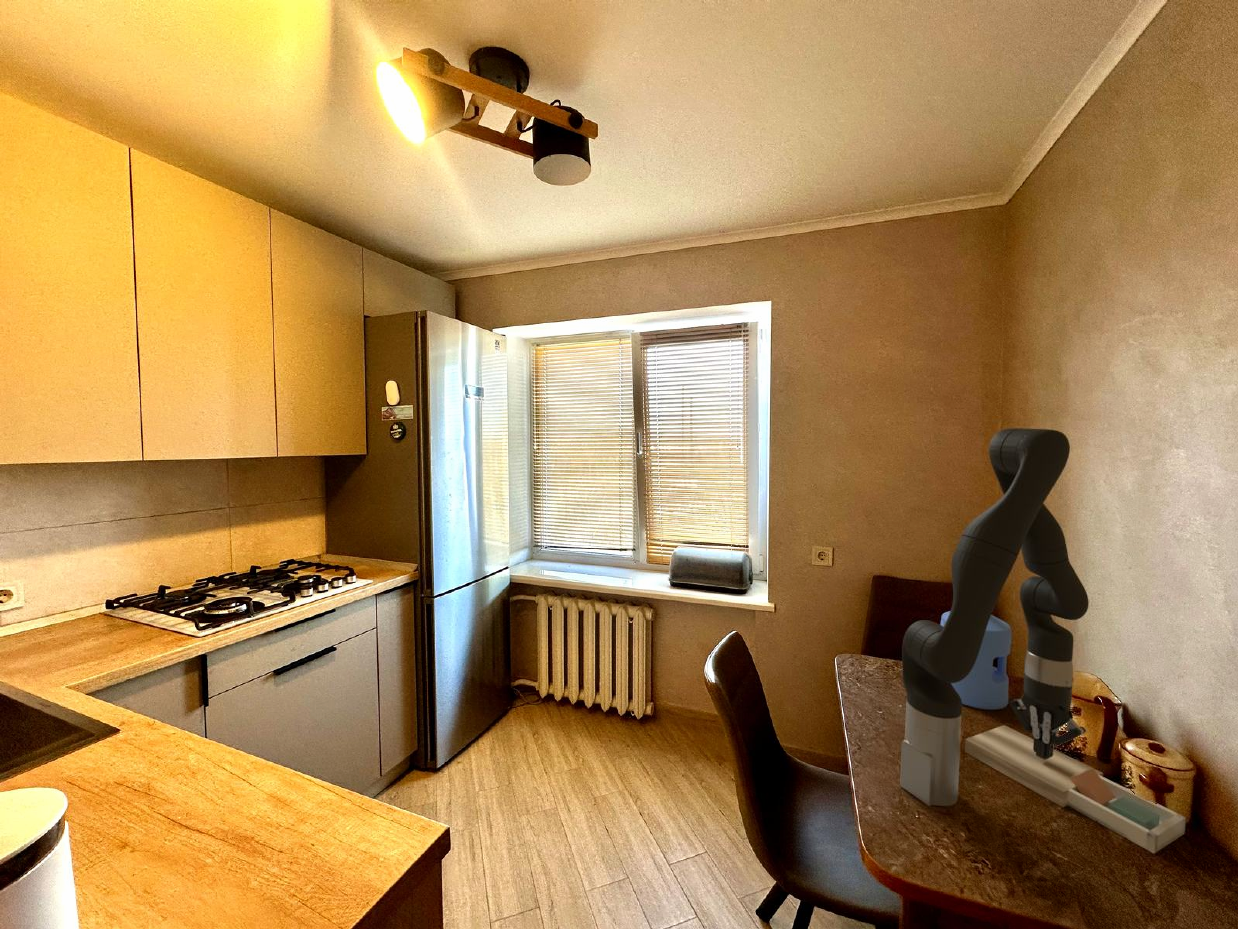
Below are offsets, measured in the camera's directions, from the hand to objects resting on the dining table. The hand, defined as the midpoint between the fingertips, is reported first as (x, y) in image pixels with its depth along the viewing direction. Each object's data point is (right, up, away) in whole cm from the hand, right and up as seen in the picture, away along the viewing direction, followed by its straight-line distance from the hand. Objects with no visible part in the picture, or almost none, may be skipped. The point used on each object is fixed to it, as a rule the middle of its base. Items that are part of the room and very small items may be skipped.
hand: (1042, 757), depth 103 cm
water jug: (+8, -3, +32) cm, 33 cm away
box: (+5, -5, -11) cm, 13 cm away
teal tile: (+6, -2, -13) cm, 14 cm away
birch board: (-1, -4, +2) cm, 5 cm away
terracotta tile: (+3, -2, -7) cm, 8 cm away
